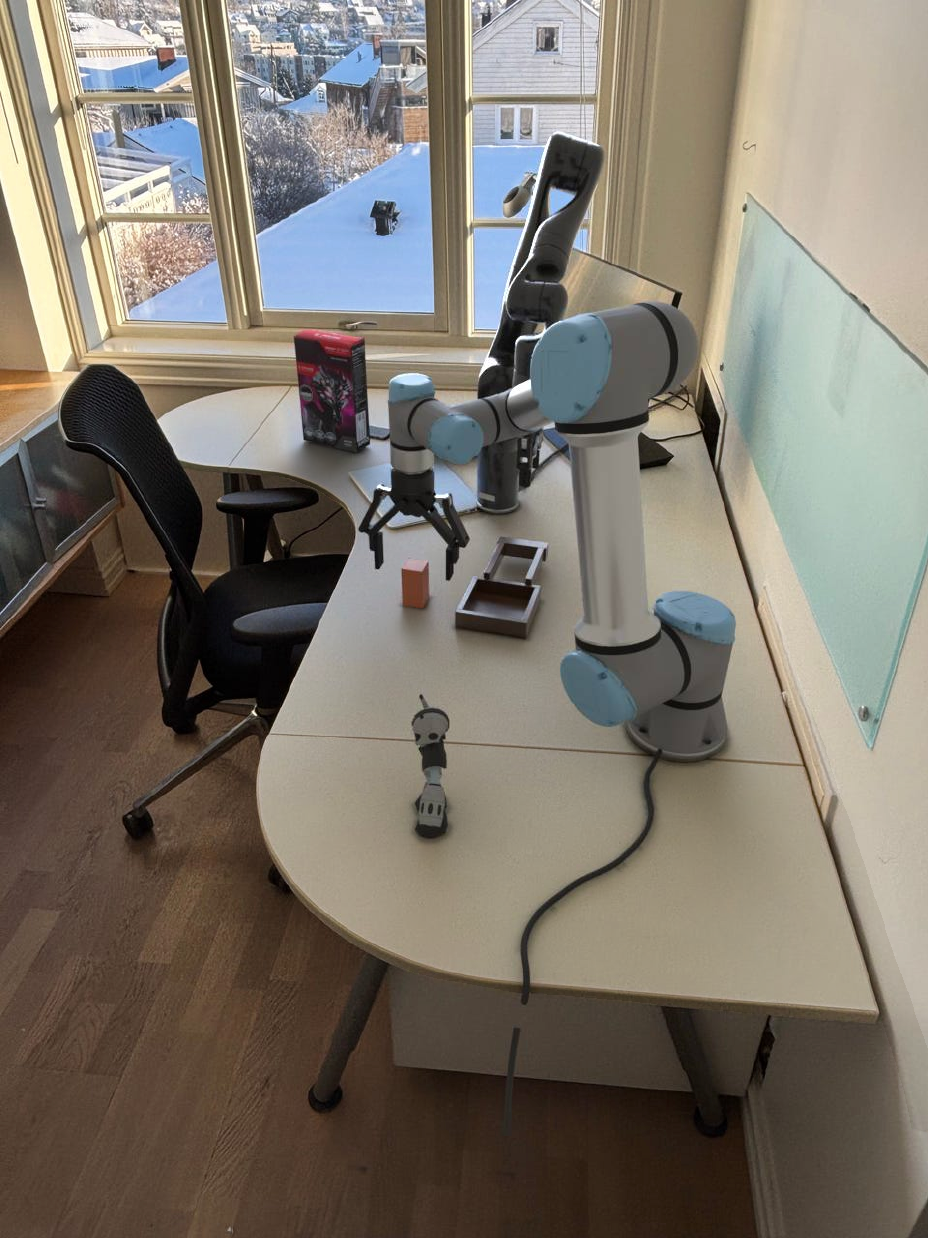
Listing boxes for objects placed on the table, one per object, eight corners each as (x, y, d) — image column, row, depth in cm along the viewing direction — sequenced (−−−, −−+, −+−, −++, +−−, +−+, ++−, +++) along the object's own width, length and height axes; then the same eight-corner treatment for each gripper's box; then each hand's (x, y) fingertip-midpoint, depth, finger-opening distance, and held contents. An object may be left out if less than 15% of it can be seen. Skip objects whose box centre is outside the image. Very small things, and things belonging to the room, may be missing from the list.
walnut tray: (525, 639, 163) (526, 618, 161) (455, 628, 166) (455, 607, 164) (554, 563, 185) (556, 543, 183) (491, 554, 188) (492, 535, 186)
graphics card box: (301, 441, 235) (290, 334, 220) (317, 432, 240) (307, 326, 225) (357, 454, 229) (350, 345, 213) (372, 444, 234) (367, 337, 218)
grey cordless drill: (452, 871, 119) (452, 756, 108) (414, 872, 119) (410, 757, 108) (447, 767, 136) (446, 657, 124) (413, 768, 135) (410, 658, 124)
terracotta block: (422, 608, 171) (422, 571, 167) (402, 605, 172) (401, 568, 168) (429, 597, 174) (428, 561, 170) (409, 594, 175) (408, 558, 171)
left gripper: (546, 410, 160) (541, 495, 169) (559, 383, 172) (554, 463, 181) (504, 406, 162) (501, 490, 171) (520, 379, 173) (516, 459, 182)
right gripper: (488, 465, 158) (484, 571, 170) (352, 447, 163) (357, 551, 176) (477, 484, 152) (474, 592, 164) (336, 465, 158) (343, 571, 170)
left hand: (528, 476), depth 176 cm, fingers open, 8 cm apart
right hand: (414, 571), depth 170 cm, fingers open, 13 cm apart
